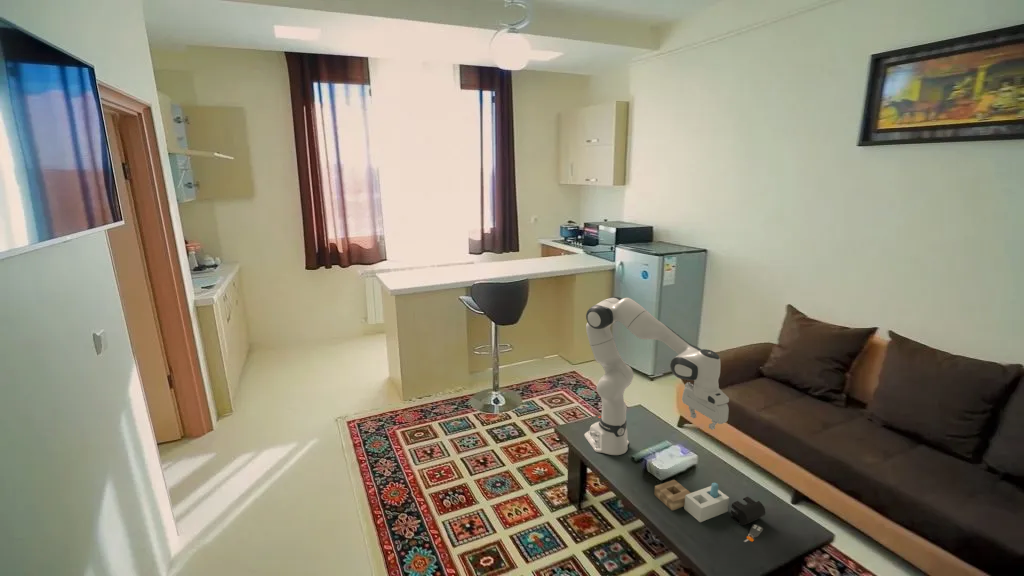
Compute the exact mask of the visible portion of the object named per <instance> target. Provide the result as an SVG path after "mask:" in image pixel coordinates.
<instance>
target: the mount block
mask: <svg viewBox="0 0 1024 576" xmlns="http://www.w3.org/2000/svg"><path fill="white" fill-rule="evenodd" d="M690 493H691V492H690V490H688V489H687V488H685V487H684V486H683V485H682V484H681V483H680V482H678V481H677V480H675V479H672V480H669V481H665V482H664V483H660V484H656V485H654V494H653V495H654V496H655V497H656V498H657V499H659V501H660V502H662V503H663V504H664V505H665V506H666V507H667V508H668V509H669V510H671V511H676V510H678V509H681V508H684V505H685V495H687V494H690Z"/></svg>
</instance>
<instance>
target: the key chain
mask: <svg viewBox="0 0 1024 576" xmlns="http://www.w3.org/2000/svg"><path fill="white" fill-rule="evenodd" d="M763 530H764V528H763V527H762V526H761V525H759V524H756V523H752V524H751V527H750V530H749V531H748V532H749V533H748V535H747V536H746V539H745V540H744V543H747V542H752V543H753V542H754V541H755V538H758V537H759V536H760V535H761V533H763Z"/></svg>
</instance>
